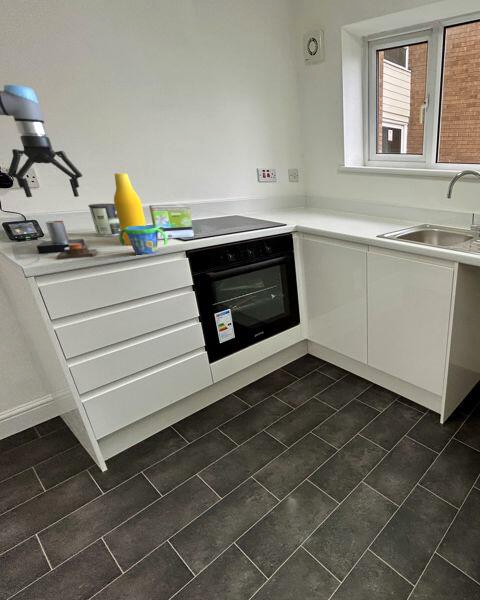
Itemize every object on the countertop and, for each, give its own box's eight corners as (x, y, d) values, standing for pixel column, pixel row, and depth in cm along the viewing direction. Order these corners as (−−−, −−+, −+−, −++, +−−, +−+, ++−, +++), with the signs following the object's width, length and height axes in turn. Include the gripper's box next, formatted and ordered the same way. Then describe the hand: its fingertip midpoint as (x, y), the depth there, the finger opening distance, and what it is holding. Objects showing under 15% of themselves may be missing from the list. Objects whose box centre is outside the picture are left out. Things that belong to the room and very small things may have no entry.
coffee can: (122, 231, 176) (115, 203, 171) (125, 235, 169) (117, 205, 164) (96, 233, 169) (87, 203, 164) (97, 237, 162) (88, 206, 157)
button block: (57, 259, 127) (54, 251, 126) (63, 254, 133) (61, 246, 132) (92, 256, 132) (90, 248, 131) (97, 251, 138) (94, 244, 137)
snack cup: (174, 250, 145) (169, 225, 141) (161, 256, 135) (155, 229, 132) (133, 250, 143) (126, 224, 139) (117, 256, 133) (110, 229, 129)
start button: (68, 250, 129) (67, 245, 129) (71, 248, 132) (69, 243, 132) (81, 249, 131) (79, 244, 130) (83, 247, 134) (82, 242, 133)
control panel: (38, 253, 133) (35, 245, 132) (47, 248, 141) (44, 240, 140) (79, 251, 139) (77, 243, 137) (85, 245, 147) (83, 238, 145)
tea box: (158, 240, 161) (150, 207, 156) (155, 236, 168) (148, 204, 163) (194, 237, 170) (189, 205, 165) (190, 233, 177) (185, 203, 172)
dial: (50, 243, 135) (43, 222, 132) (54, 241, 139) (47, 220, 136) (67, 242, 138) (60, 221, 135) (70, 240, 142) (64, 219, 139)
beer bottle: (119, 244, 150) (100, 173, 140) (134, 240, 159) (118, 172, 148) (140, 245, 150) (123, 174, 140) (155, 241, 159) (139, 173, 148)
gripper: (81, 138, 134) (97, 195, 142) (-10, 133, 123) (12, 196, 131) (76, 137, 128) (92, 197, 136) (-21, 132, 117) (3, 198, 125)
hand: (53, 196), depth 134 cm, fingers open, 13 cm apart
